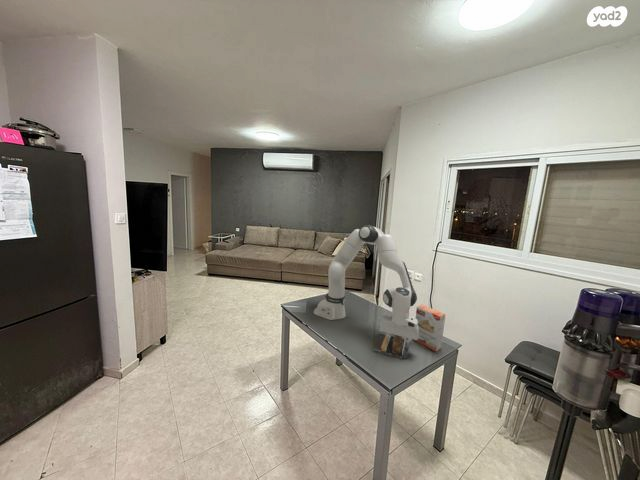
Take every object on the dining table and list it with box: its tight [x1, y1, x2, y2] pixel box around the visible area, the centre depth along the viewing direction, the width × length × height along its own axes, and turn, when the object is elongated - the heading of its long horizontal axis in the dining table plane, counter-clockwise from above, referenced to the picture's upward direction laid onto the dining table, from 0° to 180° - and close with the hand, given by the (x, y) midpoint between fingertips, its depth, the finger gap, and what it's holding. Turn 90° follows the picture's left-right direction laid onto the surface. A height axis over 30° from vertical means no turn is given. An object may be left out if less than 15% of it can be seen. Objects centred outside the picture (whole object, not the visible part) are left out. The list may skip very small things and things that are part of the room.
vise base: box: [372, 332, 411, 360], centre depth 136 cm, size 17×19×3 cm
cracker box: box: [412, 304, 446, 352], centre depth 137 cm, size 14×6×21 cm, turn 36°
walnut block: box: [391, 335, 404, 356], centre depth 133 cm, size 4×8×6 cm, turn 155°
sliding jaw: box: [380, 333, 392, 352], centre depth 138 cm, size 3×16×3 cm, turn 156°
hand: (397, 342), depth 133 cm, fingers open, 8 cm apart
